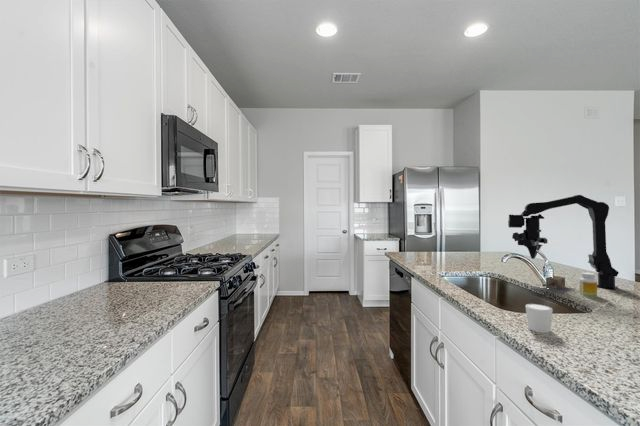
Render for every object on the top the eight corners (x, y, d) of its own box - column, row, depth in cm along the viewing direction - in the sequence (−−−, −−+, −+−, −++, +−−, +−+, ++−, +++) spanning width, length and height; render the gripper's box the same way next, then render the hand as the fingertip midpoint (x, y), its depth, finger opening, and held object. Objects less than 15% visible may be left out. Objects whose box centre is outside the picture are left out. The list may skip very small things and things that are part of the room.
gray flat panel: (544, 284, 145) (544, 283, 145) (575, 289, 135) (575, 288, 135) (531, 288, 137) (531, 288, 137) (562, 294, 127) (562, 293, 127)
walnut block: (546, 287, 137) (553, 285, 142) (558, 289, 134) (565, 286, 138) (546, 278, 137) (553, 275, 142) (557, 279, 134) (564, 277, 138)
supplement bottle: (601, 298, 121) (600, 274, 121) (587, 298, 121) (587, 275, 121) (589, 294, 127) (589, 272, 127) (576, 294, 127) (576, 272, 127)
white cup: (545, 335, 88) (545, 312, 88) (521, 327, 94) (520, 305, 94) (557, 330, 91) (557, 308, 91) (533, 323, 97) (532, 302, 97)
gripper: (523, 226, 161) (523, 254, 161) (506, 228, 151) (506, 258, 151) (547, 227, 152) (548, 257, 152) (530, 228, 142) (531, 261, 142)
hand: (533, 258), depth 149 cm, fingers closed
